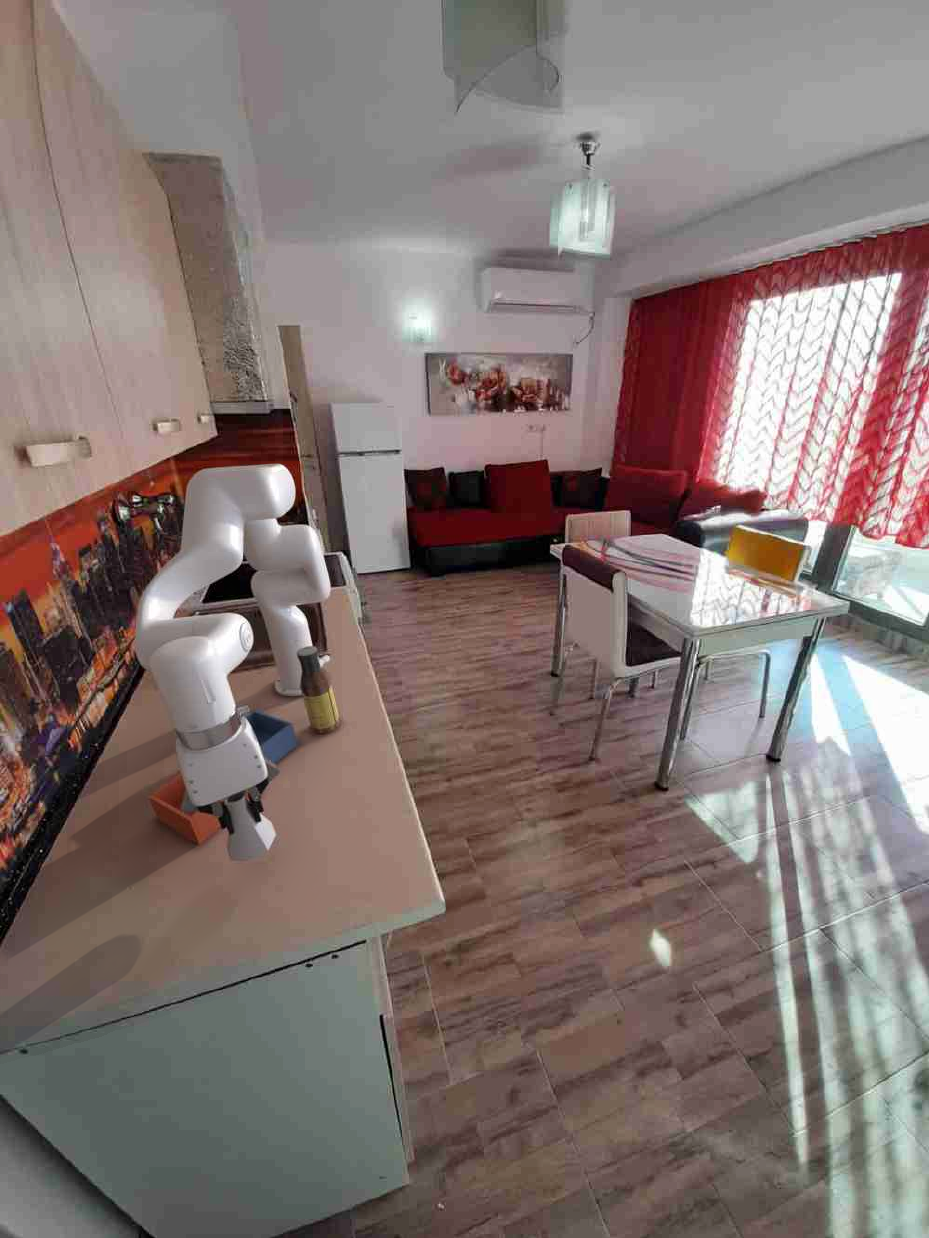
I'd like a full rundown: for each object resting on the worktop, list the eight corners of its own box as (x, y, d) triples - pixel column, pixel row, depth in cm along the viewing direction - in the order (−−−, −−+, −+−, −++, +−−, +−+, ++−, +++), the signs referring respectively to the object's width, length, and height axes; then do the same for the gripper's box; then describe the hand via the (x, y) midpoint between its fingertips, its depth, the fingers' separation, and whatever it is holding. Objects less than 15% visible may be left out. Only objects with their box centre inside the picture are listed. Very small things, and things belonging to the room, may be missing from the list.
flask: (223, 868, 70) (202, 820, 65) (230, 829, 76) (213, 783, 72) (274, 855, 71) (258, 807, 67) (278, 817, 78) (263, 772, 73)
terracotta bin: (216, 776, 93) (208, 754, 91) (256, 796, 88) (249, 773, 86) (158, 819, 84) (147, 796, 82) (199, 844, 79) (189, 820, 77)
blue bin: (260, 729, 106) (254, 709, 104) (297, 744, 101) (292, 723, 99) (214, 763, 97) (206, 741, 95) (252, 781, 92) (245, 758, 89)
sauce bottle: (324, 715, 110) (307, 639, 101) (345, 721, 107) (330, 644, 99) (304, 732, 105) (285, 654, 96) (326, 738, 102) (308, 659, 94)
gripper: (267, 691, 70) (293, 783, 78) (138, 733, 63) (182, 830, 71) (278, 717, 64) (305, 813, 72) (138, 767, 57) (185, 868, 65)
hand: (244, 820), depth 72 cm, fingers closed on flask, 3 cm apart
